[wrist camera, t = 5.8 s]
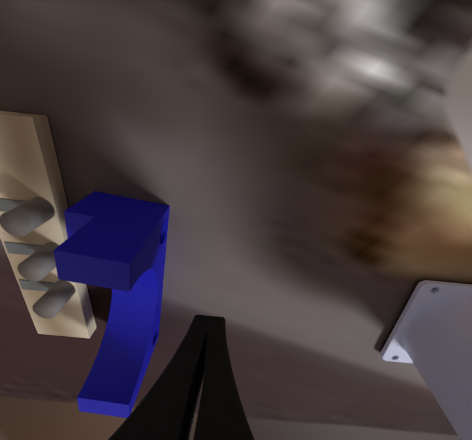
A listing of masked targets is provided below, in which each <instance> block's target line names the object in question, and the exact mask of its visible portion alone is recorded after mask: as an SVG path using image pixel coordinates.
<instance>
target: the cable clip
mask: <svg viewBox="0 0 472 440" xmlns="http://www.w3.org/2000/svg"><path fill="white" fill-rule="evenodd" d="M169 207H170V206H168V205H163V204H158V203H153V202H148V201H143V200H137V199H132V198H127V197H122V196H117V195H112V194H107V193H102V192H96V191H94V192H93V193H91V194H90V195H88V196H87V197H85V198H83V199H82V200H80V201H79V202H77V203H76V204H74V205H73V206H71V207H69V208H68V209H66V210H65V211H64V214H65V222H66V230H67V238H68V239H67V240H65V241H64V242H63V243H62V244H61V245H59V246H58V247H57V248H56V249H54V257H55V263H56V269H57V275H58V279H59V280H65V281H70V282H76V283H82V284H88V285H93V286H99V287H105V288H111V289H112V300H111V308H110V313H109V318H108V322H107V326H106V330H105V333H104V337H103V340H102V343H101V346H100V349H99V351H98V354H97V357H96V359H95V362H94V364H93V366H92V369H91V371H90V373H89V375H88V377H87V379H86V382H85V384H84V386H83V388H82V389H81V391H80V393H79V395H78V397H77V399H78V406H79V411H82V412H89V413H96V414H103V415H110V416H117V417H124V418H128V417H129V416H130V413H131V411H132V408H133V405H134V402H135V400H136V397H137V394H138V391H139V389H140V386H141V383H142V380H143V378H144V375H145V372H146V369H147V366H148V364H149V361H150V358H151V355H152V353H153V350H154V347H155V344H156V342H157V339H158V334H159V323H160V311H161V300H162V288H163V276H164V265H165V253H166V241H167V230H168V218H169Z"/></svg>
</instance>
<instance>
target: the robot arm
mask: <svg viewBox="0 0 472 440" xmlns="http://www.w3.org/2000/svg"><path fill="white" fill-rule="evenodd" d="M432 288H433V289H432ZM380 355H381V357H382V359H383V360H386V361H395V362H405V363H414V365H415V366H416V368H417V370H418V371H419V373H420V374H421V376H422V378H423V379H424V381H425V382H426V384H427V386H428V387H429V389H430V390H431V392H432V394H433V395H434V397H435V398H436V400H437V402H438V403H439V405H440V407H441V408H442V410H443V411H444V413H445V415H446V416H447V418H448V419H449V421H450V423H451V424H452V426H453V427H454V429H455V431H456V432H457V434H458V436H459V437H460V439H461V440H472V285H471V284H461V283H450V282H440V281H429V280H424V281H421V282H420V283H418V285H417V286H416V288H415V290H414V292H413V294H412V295H411V297H410V299H409V301H408V303H407V305H406V306H405V308H404V310H403V312H402V314H401V316H400V318H399V319H398V321H397V323H396V325H395V327H394V329H393V330H392V332H391V334H390V336H389V338H388V340H387V342H386V343H385V345H384V347H383V349H382V351H381V353H380ZM203 376H204V379H203ZM202 380H203V388H202V394H201V400H200V405H199V411H198V418H197V423H196V429H195V434H194V440H254V438H253V435H252V433H251V430H250V427H249V425H248V422H247V419H246V416H245V413H244V410H243V407H242V404H241V401H240V397H239V394H238V391H237V387H236V383H235V380H234V376H233V372H232V368H231V363H230V358H229V353H228V348H227V341H226V331H225V319H224V318H223V317H215V316H205V315H196V316H194V319H193V321H192V324H191V326H190V328H189V330H188V332H187V334H186V336H185V337H184V339H183V341H182V343H181V344H180V346H179V348H178V349H177V351H176V353H175V354H174V356H173V358H172V359H171V361H170V362H169V364H168V365H167V367H166V368H165V370H164V371H163V373H162V374H161V376H160V377H159V378H158V380H157V381H156V383H155V384H154V385H153V387H152V388H151V389H150V391H149V392H148V393H147V395H146V396H145V397H144V399H143V400H142V401H141V402H140V404H139V405H138V406H137V407H136V408H135V410H134V411H133V412H132V413H131V414H130V416H129V417H128V418H127V419H126V420H125V422H124V423H123V424H122V425H121V426H120V427H119V428H118V430H117V431H116V432H115V433H114V434H113V435H112V436H111V437H110V438H109V439H108V440H189V437H190V432H191V426H192V423H193V418H194V414H195V410H196V406H197V401H198V397H199V393H200V388H201V384H202Z"/></svg>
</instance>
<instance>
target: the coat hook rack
mask: <svg viewBox="0 0 472 440" xmlns="http://www.w3.org/2000/svg"><path fill="white" fill-rule="evenodd" d="M66 209H68V204H67V199H66V195H65V191H64V186H63V182H62V178H61V174H60V169H59V165H58V161H57V156H56V152H55V148H54V144H53V139H52V135H51V131H50V126H49V122H48V118H47V116H46V115H36V114H26V113H16V112H6V111H0V238H1V241H2V243H3V246H4V248H5V251H6V253H7V256H8V258H9V261H10V263H11V266H12V269H13V271H14V274H15V276H16V279H17V281H18V284H19V286H20V289H21V292H22V294H23V297H24V299H25V302H26V304H27V307H28V309H29V312H30V315H31V317H32V320H33V322H34V325H35V327H36V330H37V332H38V334H48V335H59V336H70V337H81V338H90V337H91V335H92V334H93V332H94V331H95V329H96V323H95V319H94V315H93V311H92V306H91V302H90V298H89V294H88V289H87V285H86V284H82V283H76V282H70V281H65V280H59V279H58V275H57V269H56V263H55V257H54V249H56V248H57V247H58V246H59V245H61V244H62V243H63V242H64V241H65V240H67V239H68V238H67V230H66V222H65V214H64V211H65V210H66Z"/></svg>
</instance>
